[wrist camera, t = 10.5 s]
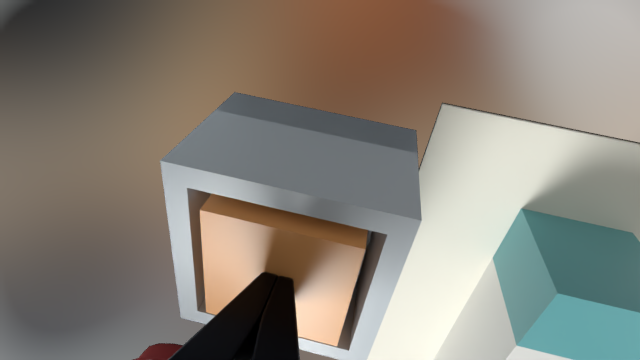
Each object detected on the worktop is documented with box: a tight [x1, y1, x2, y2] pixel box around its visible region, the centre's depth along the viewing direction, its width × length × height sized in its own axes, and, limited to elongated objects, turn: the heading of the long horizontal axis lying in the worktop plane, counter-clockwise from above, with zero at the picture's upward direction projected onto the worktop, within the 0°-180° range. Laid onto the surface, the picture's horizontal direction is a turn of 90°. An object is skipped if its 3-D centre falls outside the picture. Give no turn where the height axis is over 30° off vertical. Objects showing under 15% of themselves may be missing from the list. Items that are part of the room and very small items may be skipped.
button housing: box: [160, 92, 422, 360], centre depth 12 cm, size 6×6×4 cm
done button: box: [200, 194, 368, 346], centre depth 11 cm, size 4×4×3 cm
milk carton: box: [433, 208, 640, 360], centre depth 14 cm, size 10×4×4 cm, turn 172°
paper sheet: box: [367, 103, 640, 360], centre depth 15 cm, size 16×11×1 cm
